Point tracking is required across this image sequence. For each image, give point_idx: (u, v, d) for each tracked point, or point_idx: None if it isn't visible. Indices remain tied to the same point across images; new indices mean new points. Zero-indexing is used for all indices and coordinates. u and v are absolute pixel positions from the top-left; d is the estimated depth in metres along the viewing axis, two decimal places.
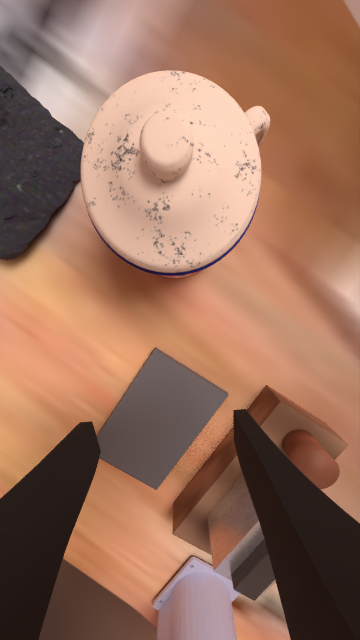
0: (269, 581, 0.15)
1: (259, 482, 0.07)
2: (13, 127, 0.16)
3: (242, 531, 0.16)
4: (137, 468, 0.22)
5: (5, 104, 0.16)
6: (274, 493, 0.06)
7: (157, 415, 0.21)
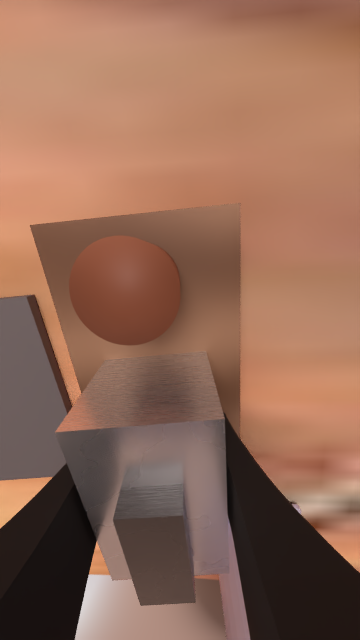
0: (183, 569, 0.06)
1: (227, 483, 0.07)
2: None
3: None
4: (41, 465, 0.15)
5: None
6: (236, 496, 0.06)
7: None
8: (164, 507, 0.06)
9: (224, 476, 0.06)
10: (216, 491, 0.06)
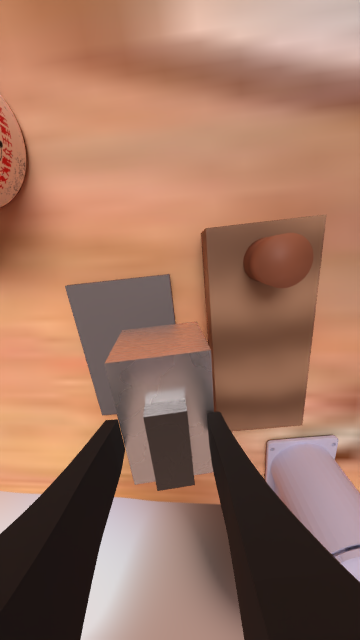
0: (187, 455, 0.10)
1: (223, 484, 0.07)
2: None
3: None
4: None
5: None
6: (230, 496, 0.06)
7: None
8: (175, 409, 0.09)
9: (211, 391, 0.10)
10: (206, 403, 0.10)
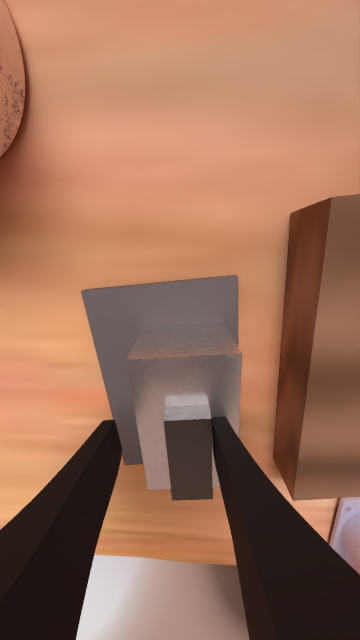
0: (206, 466, 0.09)
1: (227, 484, 0.07)
2: None
3: None
4: None
5: None
6: (235, 496, 0.06)
7: None
8: (197, 415, 0.08)
9: (238, 399, 0.09)
10: (231, 411, 0.09)
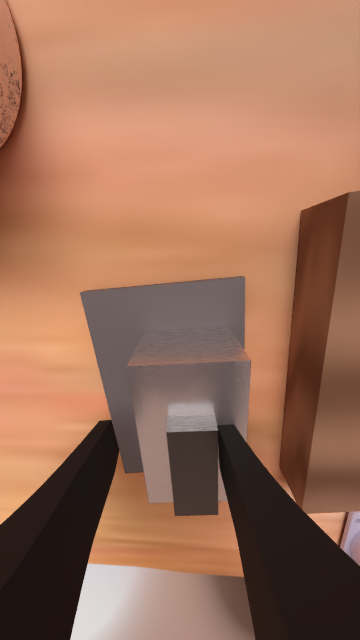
0: (212, 481, 0.08)
1: (231, 483, 0.07)
2: None
3: None
4: None
5: None
6: (241, 495, 0.06)
7: None
8: (203, 426, 0.08)
9: (246, 409, 0.08)
10: (239, 421, 0.08)
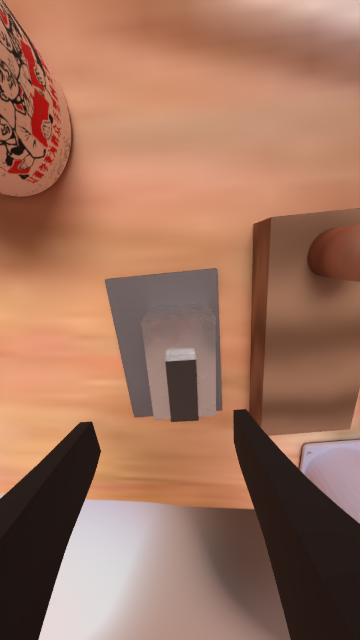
0: (194, 395, 0.14)
1: (258, 481, 0.07)
2: None
3: None
4: None
5: None
6: (274, 493, 0.06)
7: None
8: (187, 358, 0.13)
9: (214, 349, 0.13)
10: (210, 358, 0.14)
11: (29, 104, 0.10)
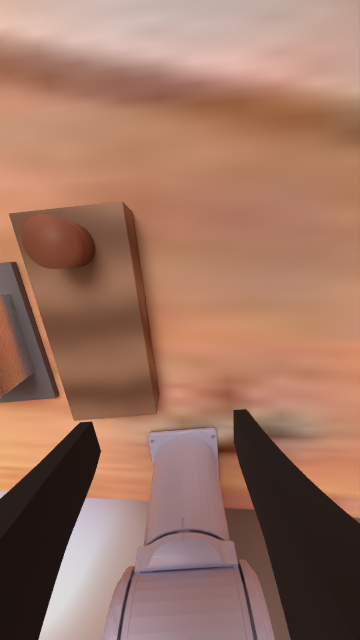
0: None
1: (258, 481, 0.07)
2: None
3: None
4: (21, 390, 0.21)
5: None
6: (274, 493, 0.06)
7: None
8: None
9: None
10: None
11: None
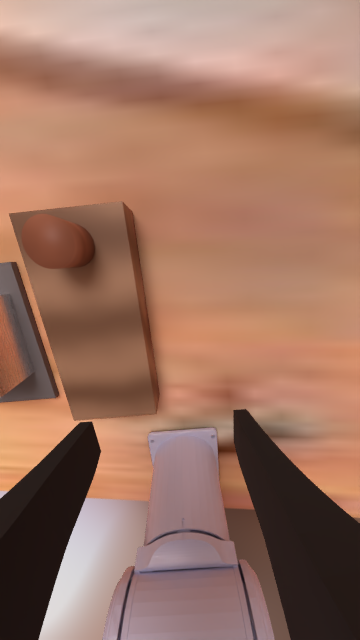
0: None
1: (258, 481, 0.07)
2: None
3: None
4: (21, 390, 0.21)
5: None
6: (274, 493, 0.06)
7: None
8: None
9: None
10: None
11: None
